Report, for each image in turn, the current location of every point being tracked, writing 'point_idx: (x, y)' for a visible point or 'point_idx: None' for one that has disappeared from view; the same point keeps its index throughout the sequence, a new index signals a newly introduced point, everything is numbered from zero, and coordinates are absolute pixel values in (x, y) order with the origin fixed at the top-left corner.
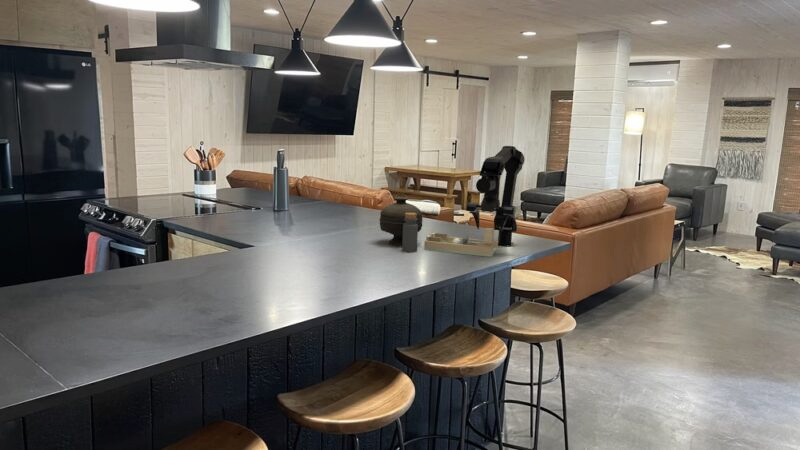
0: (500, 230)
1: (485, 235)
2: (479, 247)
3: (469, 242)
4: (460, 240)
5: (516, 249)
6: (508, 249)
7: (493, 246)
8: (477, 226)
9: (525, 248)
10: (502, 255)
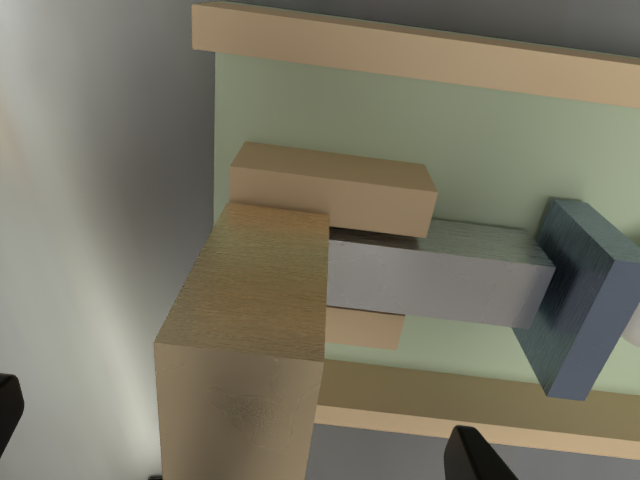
0: (7, 380)
1: (307, 282)
2: (381, 29)
3: (522, 262)
4: (636, 315)
5: (80, 411)
6: (138, 395)
7: None
8: (491, 464)
9: (32, 455)
10: (120, 146)
